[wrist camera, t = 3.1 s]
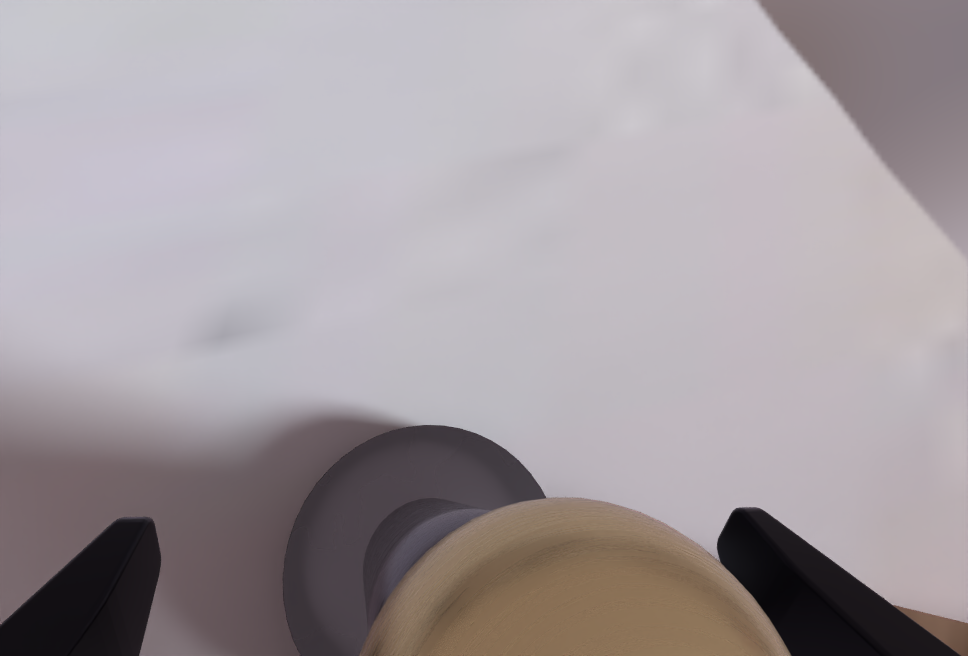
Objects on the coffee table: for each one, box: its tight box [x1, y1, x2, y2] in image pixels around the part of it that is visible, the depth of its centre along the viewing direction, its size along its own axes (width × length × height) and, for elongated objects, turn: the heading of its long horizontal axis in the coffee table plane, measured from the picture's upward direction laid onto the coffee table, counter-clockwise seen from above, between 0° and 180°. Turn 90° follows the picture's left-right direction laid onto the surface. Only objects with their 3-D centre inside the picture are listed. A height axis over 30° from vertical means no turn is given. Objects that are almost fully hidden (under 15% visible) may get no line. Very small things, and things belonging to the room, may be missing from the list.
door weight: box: [283, 425, 791, 656], centre depth 9 cm, size 6×6×13 cm
